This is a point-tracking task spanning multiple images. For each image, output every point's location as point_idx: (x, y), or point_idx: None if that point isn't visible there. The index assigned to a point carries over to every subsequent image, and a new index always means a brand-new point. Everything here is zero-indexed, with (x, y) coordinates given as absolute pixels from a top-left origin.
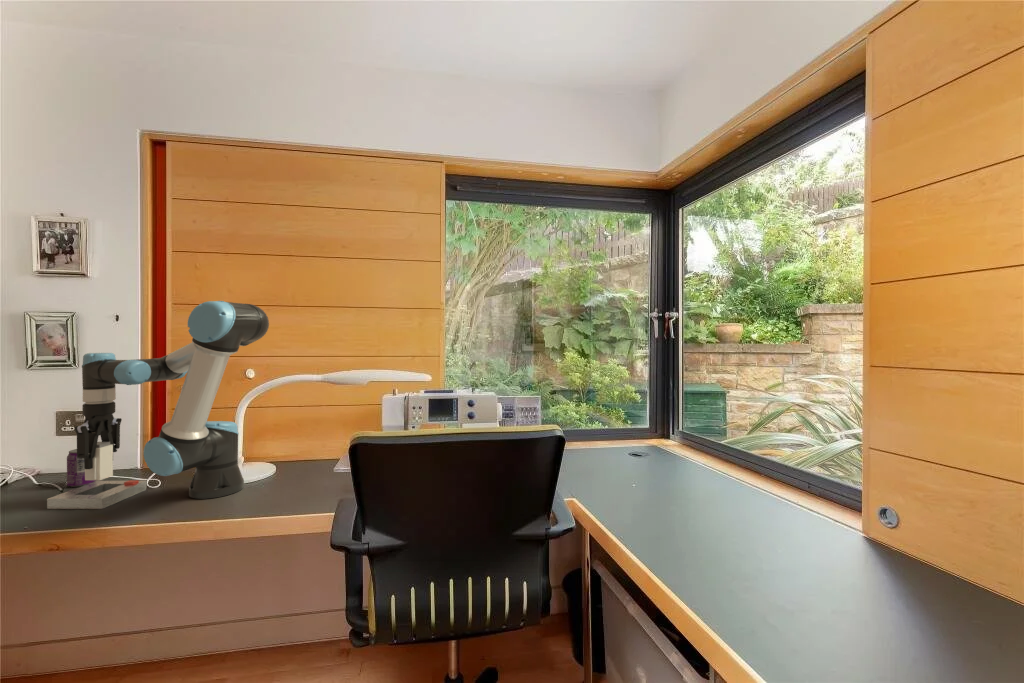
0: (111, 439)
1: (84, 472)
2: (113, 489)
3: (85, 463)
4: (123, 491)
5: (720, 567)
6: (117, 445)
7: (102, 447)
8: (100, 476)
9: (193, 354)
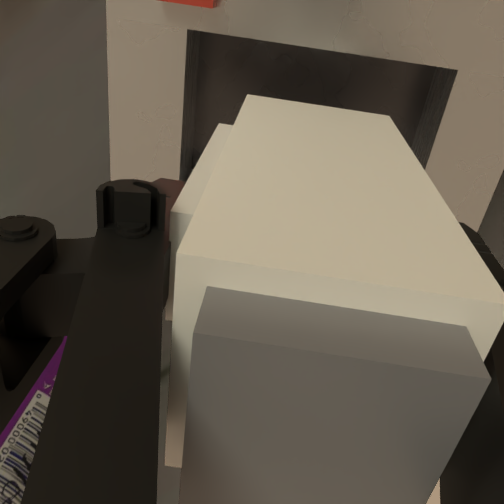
0: (85, 380)
1: (49, 392)
2: (337, 12)
3: None
4: None
5: None
6: (14, 249)
7: (447, 292)
8: (387, 124)
9: None
